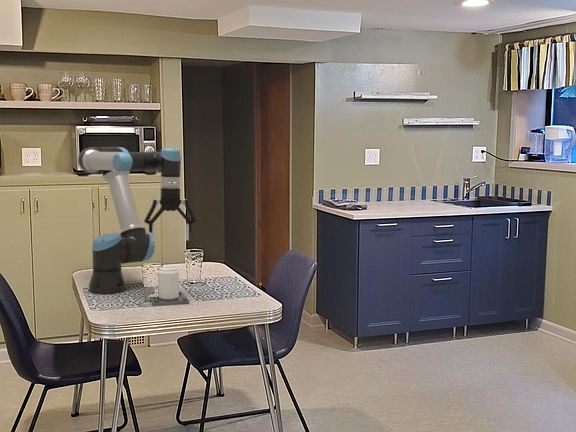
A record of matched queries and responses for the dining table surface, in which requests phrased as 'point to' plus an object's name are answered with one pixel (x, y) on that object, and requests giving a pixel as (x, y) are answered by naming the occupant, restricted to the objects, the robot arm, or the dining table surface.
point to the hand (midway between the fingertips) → (170, 240)
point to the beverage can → (168, 283)
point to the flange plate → (160, 302)
